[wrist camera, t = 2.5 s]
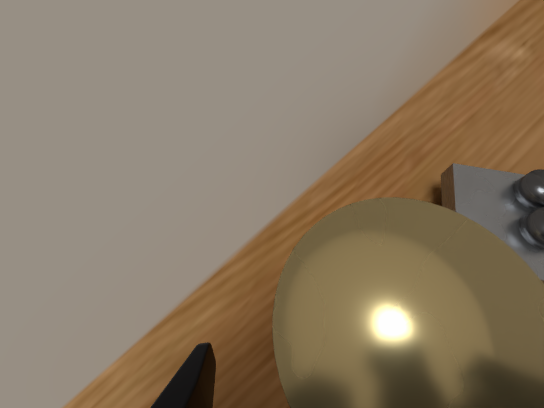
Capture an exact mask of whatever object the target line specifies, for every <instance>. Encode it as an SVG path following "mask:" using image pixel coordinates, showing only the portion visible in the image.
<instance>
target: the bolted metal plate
mask: <svg viewBox="0 0 544 408" xmlns="http://www.w3.org/2000/svg"><path fill="white" fill-rule="evenodd" d="M441 194H442V207H445V208H448V209H450V210H452V211H455V212H457V213H459V214H462V215H464V216H465V217H467V218H469V219H471V220H473V221H475V222H476V223H478V224H480V225H481V226H483V227H484V228H486V229H487V230H489V231H490V232H492V233H493V234H495V235H496V236H497V237H498V238H500V239H501V240H502V241H503V242H505V243H506V244H507V245H508V246H509V247H511V248H512V249H513V250H514V251H515V252H516V253H517V254H518V255H519V256H520V257H521V258H522V259H523V260H524V261H525V262H526V263H527V264H528V265H529V267H530V268H531V269H532V270H533V271H534V273H535V274H536V275H537V276H538V277H539V278H540V280H541V281H542V283H543V284H544V170H534V171H531V172H530V173H528V174H526V175H523V174H516V173H510V172H504V171H497V170H491V169H485V168H479V167H472V166H466V165H460V164H454V163H453V164H452V165H451V166H450V167H449V168H447V169H446V170H445V171H444V172H443V173H442V174H441Z"/></svg>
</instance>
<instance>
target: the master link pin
mask: <svg viewBox="0 0 544 408" xmlns="http://www.w3.org/2000/svg"><path fill="white" fill-rule="evenodd" d="M273 344H274V353H275V360H276V364H277V368H278V373H279V377H280V381H281V384H282V387H283V390H284V393H285V395H286V398H287V401H288V404H289V406H290V408H544V284H543V283H542V281H541V280H540V278H539V277H538V276H537V275H536V274H535V273H534V271H533V270H532V269H531V268H530V267H529V265H528V264H527V263H526V262H525V261H524V260H523V259H522V258H521V257H520V256H519V255H518V254H517V253H516V252H515V251H514V250H513V249H512V248H511V247H509V246H508V245H507V244H506V243H505V242H503V241H502V240H501V239H500V238H498V237H497V236H496V235H495V234H493V233H492V232H490V231H489V230H487V229H486V228H484V227H483V226H481V225H480V224H478V223H476V222H475V221H473V220H471V219H469V218H467V217H465V216H464V215H462V214H459V213H457V212H455V211H452V210H450V209H448V208H445V207H442V206H439V205H436V204H433V203H429V202H425V201H420V200H415V199H407V198H376V199H368V200H364V201H360V202H356V203H352V204H350V205H347V206H345V207H342V208H340V209H338V210H336V211H334V212H332V213H331V214H329V215H327V216H325V217H324V218H323V219H321V220H320V221H319V222H317V223H316V224H315V225H314V226H313V227H312V228H311V229H310V230H309V231H308V232H307V233H306V234H305V235H304V236H303V237H302V238H301V240H300V241H299V242H298V244H297V245H296V246H295V248H294V249H293V251H292V253H291V254H290V256H289V258H288V260H287V261H286V264H285V266H284V269H283V271H282V274H281V276H280V279H279V283H278V287H277V290H276V294H275V301H274V308H273Z"/></svg>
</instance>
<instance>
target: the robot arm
mask: <svg viewBox="0 0 544 408" xmlns="http://www.w3.org/2000/svg"><path fill="white" fill-rule="evenodd" d="M215 371H216V361H215V356H214V353H213V349H212V346H211V344H210V343H201V344H198V345H197V346H196V347H195V348H194V350H193V351H192V352H191V354H190V355H189V357H188V358H187V359H186V361H185V362H184V363H183V365H182V366H181V367H180V369H179V370H178V371H177V373H176V374H175V375H174V377H173V378H172V379H171V381H170V382H169V383H168V385H167V386H166V387H165V389H164V390H163V392H162V393H161V394H160V396H159V397H158V398H157V400H156V401H155V402H154V404H153V405H152V406H151V408H213V396H214V383H215Z"/></svg>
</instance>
